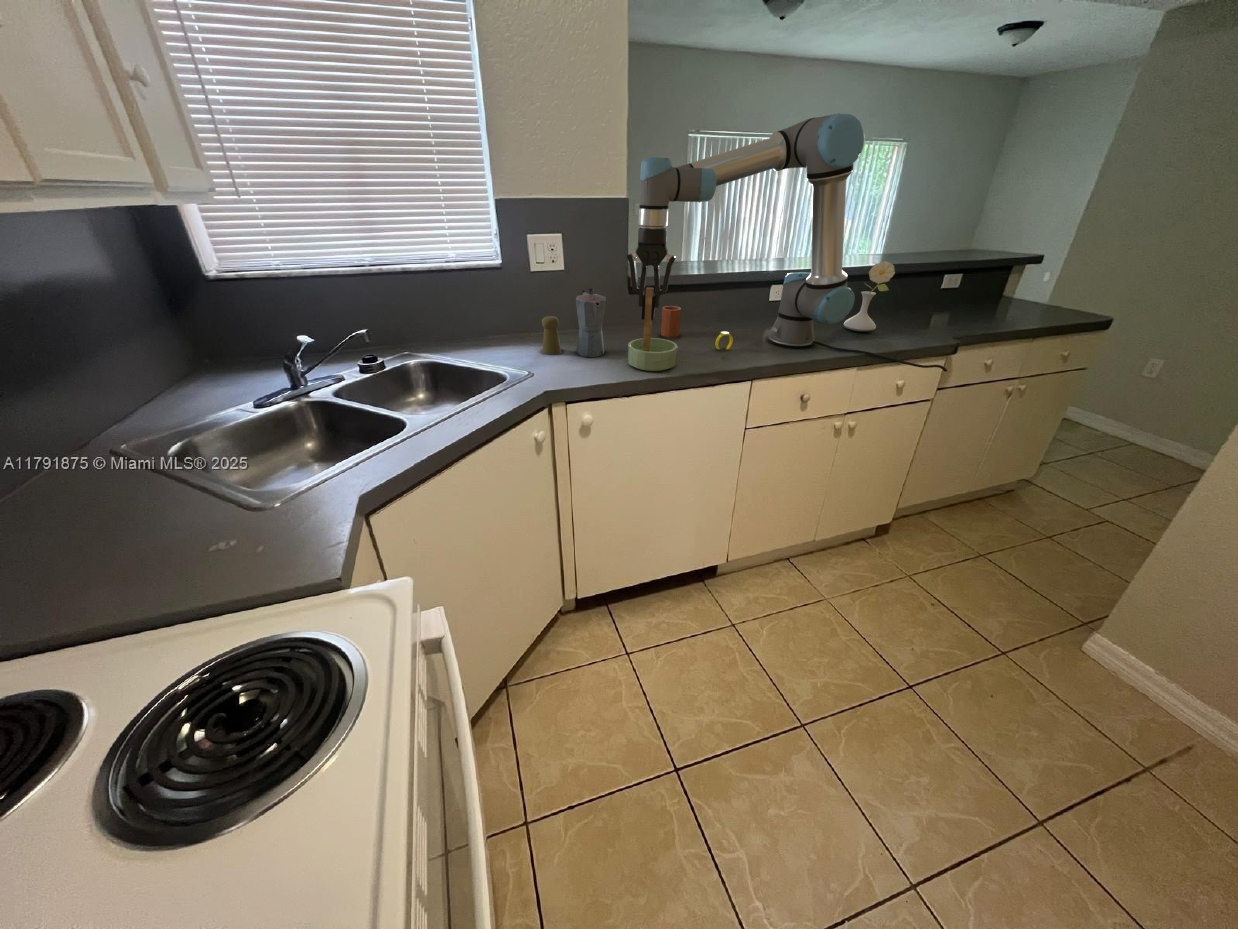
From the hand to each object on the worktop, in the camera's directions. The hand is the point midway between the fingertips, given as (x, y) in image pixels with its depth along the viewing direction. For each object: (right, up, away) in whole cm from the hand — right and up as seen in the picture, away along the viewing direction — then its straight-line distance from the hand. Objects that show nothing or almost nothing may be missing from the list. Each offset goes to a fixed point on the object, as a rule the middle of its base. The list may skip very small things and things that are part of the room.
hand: (648, 318), depth 138 cm
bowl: (+2, -11, +9) cm, 14 cm away
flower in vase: (+84, +9, +47) cm, 97 cm away
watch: (+26, -4, +22) cm, 35 cm away
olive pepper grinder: (-30, -6, +17) cm, 35 cm away
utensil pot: (+10, +4, +34) cm, 36 cm away
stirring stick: (0, -10, +6) cm, 12 cm away
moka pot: (-18, -6, +17) cm, 26 cm away
